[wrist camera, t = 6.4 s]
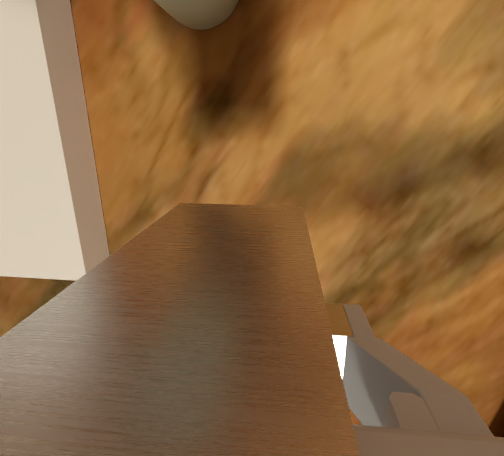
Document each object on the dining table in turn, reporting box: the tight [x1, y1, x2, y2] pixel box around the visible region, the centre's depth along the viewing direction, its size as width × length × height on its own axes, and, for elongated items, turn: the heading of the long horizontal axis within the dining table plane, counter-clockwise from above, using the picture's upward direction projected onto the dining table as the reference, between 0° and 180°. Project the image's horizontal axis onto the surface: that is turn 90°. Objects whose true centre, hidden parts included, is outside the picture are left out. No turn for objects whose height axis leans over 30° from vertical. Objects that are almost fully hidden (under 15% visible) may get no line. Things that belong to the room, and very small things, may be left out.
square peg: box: [0, 203, 360, 456], centre depth 8 cm, size 5×5×11 cm
